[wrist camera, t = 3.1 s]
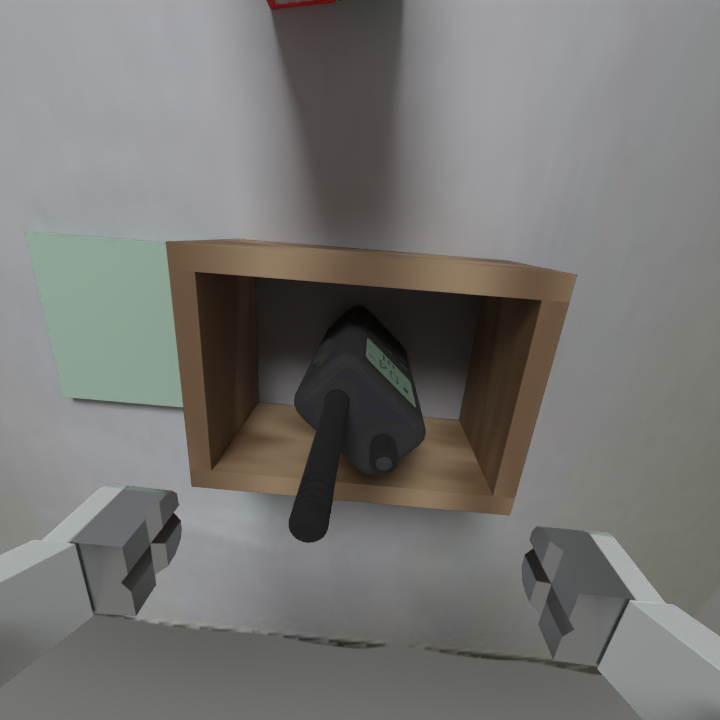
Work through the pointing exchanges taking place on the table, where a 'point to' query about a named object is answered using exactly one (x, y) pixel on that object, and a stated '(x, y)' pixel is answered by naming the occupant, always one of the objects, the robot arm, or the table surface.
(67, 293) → the place mat
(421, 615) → the table surface
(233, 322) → the access box
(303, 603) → the table surface
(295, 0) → the stack of blocks
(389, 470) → the walkie-talkie
